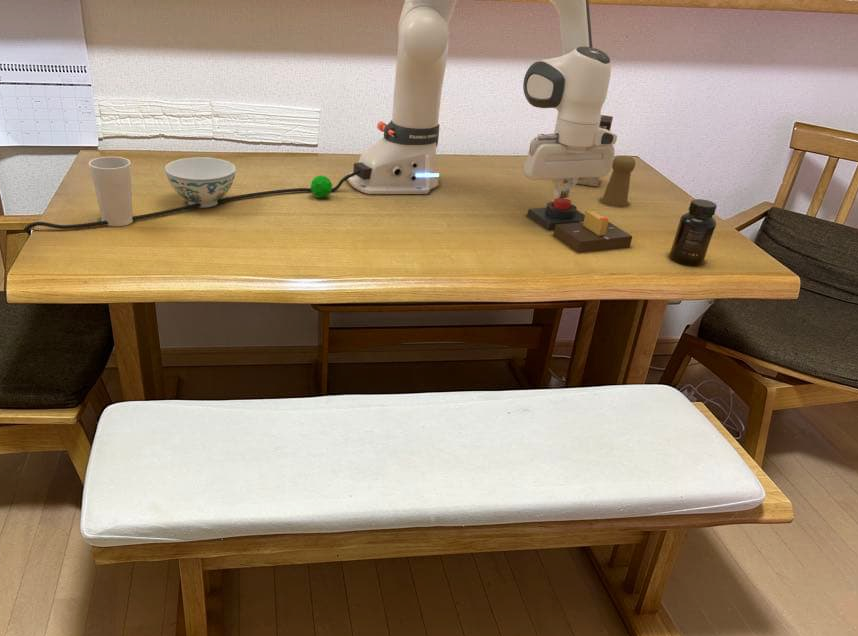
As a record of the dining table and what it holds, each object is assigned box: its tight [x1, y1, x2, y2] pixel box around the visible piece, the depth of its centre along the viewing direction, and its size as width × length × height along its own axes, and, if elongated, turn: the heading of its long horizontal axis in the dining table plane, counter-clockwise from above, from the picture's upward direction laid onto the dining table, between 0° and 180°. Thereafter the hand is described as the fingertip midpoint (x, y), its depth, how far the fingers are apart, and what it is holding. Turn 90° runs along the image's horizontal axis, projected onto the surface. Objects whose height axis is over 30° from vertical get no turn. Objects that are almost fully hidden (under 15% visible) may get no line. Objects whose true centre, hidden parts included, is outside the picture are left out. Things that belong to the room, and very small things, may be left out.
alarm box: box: [526, 201, 585, 231], centre depth 169 cm, size 11×9×4 cm
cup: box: [88, 156, 134, 227], centre depth 153 cm, size 8×8×12 cm
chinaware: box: [164, 156, 237, 209], centre depth 165 cm, size 15×15×8 cm
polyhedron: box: [310, 175, 333, 199], centre depth 173 cm, size 5×5×5 cm
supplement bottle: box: [669, 198, 717, 267], centre depth 152 cm, size 7×7×12 cm
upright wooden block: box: [583, 210, 610, 236], centre depth 158 cm, size 6×2×3 cm, turn 21°
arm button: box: [553, 197, 572, 210], centre depth 168 cm, size 4×4×2 cm
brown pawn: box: [601, 155, 636, 208], centre depth 179 cm, size 6×6×11 cm
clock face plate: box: [553, 221, 633, 254], centre depth 160 cm, size 13×10×3 cm
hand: (561, 197), depth 166 cm, fingers closed
